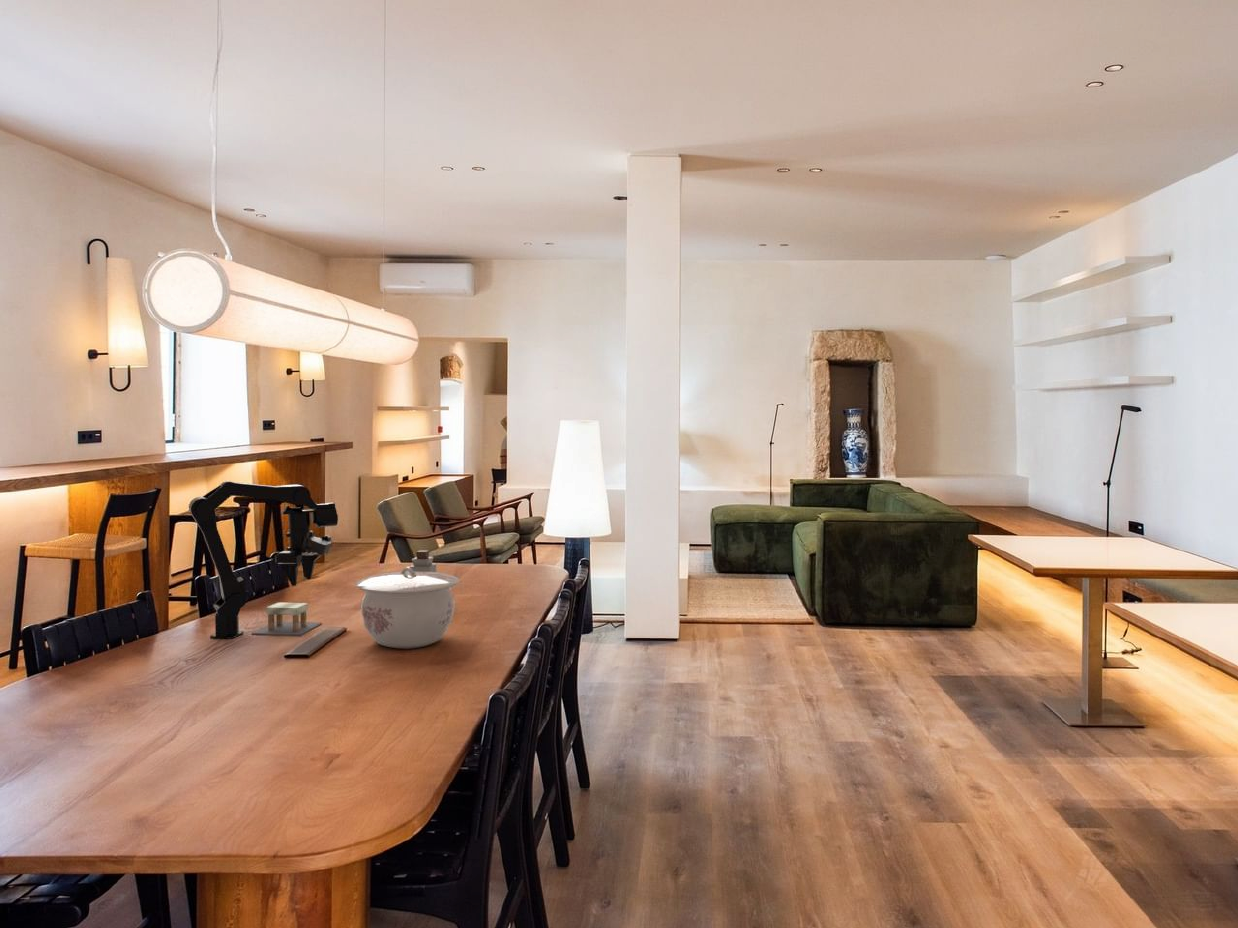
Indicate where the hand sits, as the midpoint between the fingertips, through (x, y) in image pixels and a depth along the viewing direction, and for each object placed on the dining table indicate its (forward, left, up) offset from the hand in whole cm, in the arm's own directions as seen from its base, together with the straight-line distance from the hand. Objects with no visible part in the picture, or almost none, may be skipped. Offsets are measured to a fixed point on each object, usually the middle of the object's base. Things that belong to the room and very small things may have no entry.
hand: (301, 582), depth 248 cm
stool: (-3, +3, -13) cm, 13 cm away
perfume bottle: (+30, -26, -13) cm, 42 cm away
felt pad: (-3, +3, -13) cm, 14 cm away
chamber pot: (-13, -36, -13) cm, 40 cm away
